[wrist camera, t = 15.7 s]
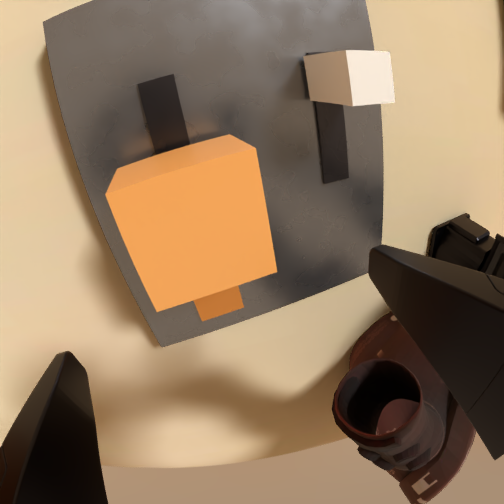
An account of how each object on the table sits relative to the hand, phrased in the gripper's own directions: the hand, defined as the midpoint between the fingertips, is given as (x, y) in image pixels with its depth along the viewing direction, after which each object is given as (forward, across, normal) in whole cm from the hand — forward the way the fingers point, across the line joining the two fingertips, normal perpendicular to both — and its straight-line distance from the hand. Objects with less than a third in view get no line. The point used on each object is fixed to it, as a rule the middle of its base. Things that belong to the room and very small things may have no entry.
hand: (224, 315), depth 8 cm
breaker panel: (+12, -4, -1) cm, 12 cm away
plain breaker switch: (+9, -9, -5) cm, 14 cm away
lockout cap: (+9, 0, 0) cm, 9 cm away
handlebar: (+12, -16, +26) cm, 33 cm away
